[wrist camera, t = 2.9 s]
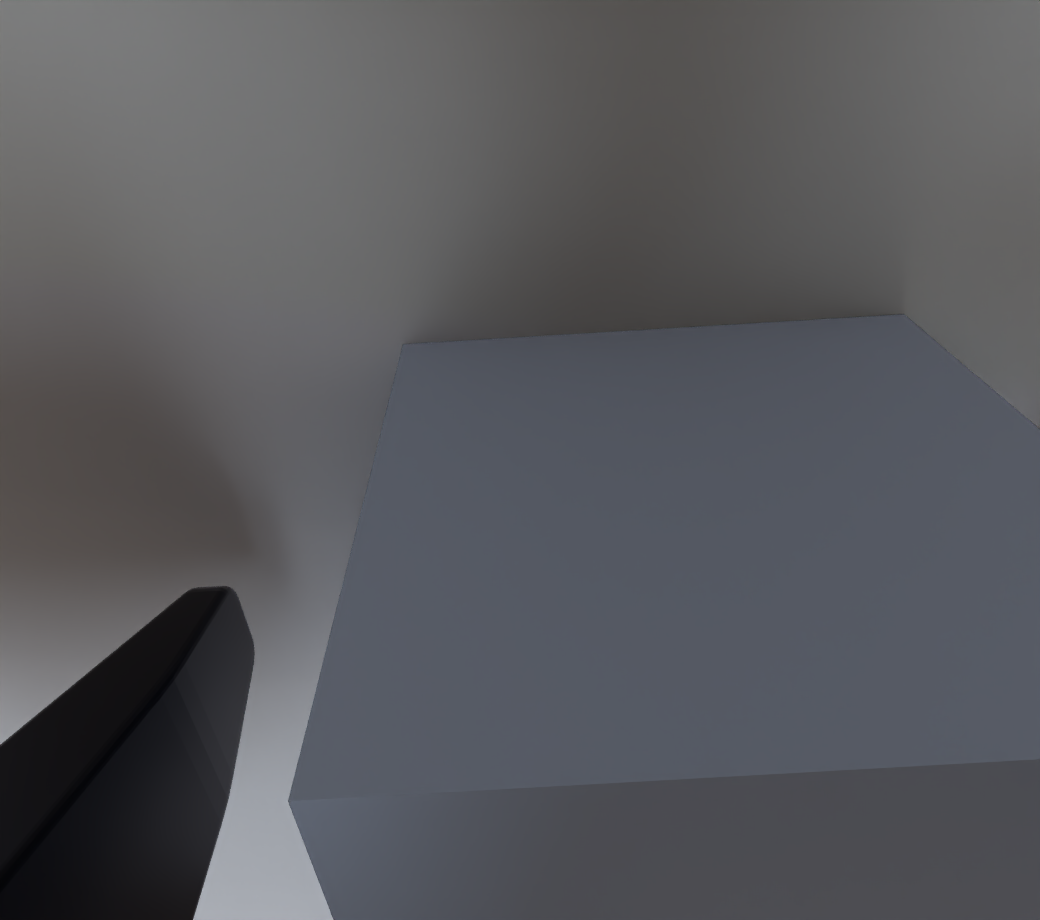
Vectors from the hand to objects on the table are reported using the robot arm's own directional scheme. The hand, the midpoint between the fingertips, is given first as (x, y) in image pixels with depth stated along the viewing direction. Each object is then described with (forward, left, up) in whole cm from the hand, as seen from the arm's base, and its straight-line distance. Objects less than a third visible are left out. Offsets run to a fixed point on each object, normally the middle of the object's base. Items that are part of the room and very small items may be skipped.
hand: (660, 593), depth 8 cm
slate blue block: (0, 0, -1) cm, 1 cm away
